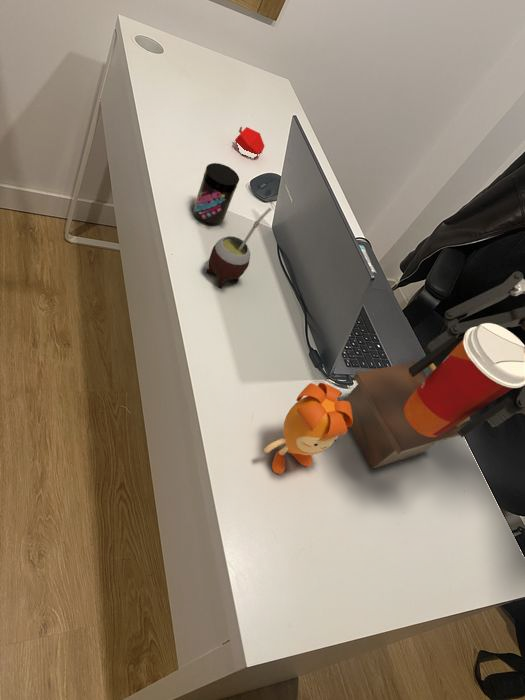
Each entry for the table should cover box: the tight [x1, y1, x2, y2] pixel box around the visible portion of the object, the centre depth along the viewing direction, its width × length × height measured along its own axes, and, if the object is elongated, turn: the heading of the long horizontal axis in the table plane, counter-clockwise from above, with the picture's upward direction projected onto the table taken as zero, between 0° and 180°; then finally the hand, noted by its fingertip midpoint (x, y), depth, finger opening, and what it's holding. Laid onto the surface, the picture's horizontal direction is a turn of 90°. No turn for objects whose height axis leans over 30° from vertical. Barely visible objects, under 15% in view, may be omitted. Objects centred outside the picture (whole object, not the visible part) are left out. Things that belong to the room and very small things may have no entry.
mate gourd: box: [205, 207, 272, 289], centre depth 89 cm, size 8×8×15 cm
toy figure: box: [263, 382, 353, 475], centre depth 70 cm, size 12×8×15 cm, turn 112°
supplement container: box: [192, 162, 240, 226], centre depth 100 cm, size 7×7×10 cm
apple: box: [234, 126, 266, 155], centre depth 123 cm, size 7×7×8 cm
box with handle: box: [342, 361, 471, 470], centre depth 81 cm, size 14×14×12 cm
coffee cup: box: [404, 323, 525, 437], centre depth 59 cm, size 8×8×15 cm
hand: (435, 402), depth 58 cm, fingers closed on coffee cup, 8 cm apart
